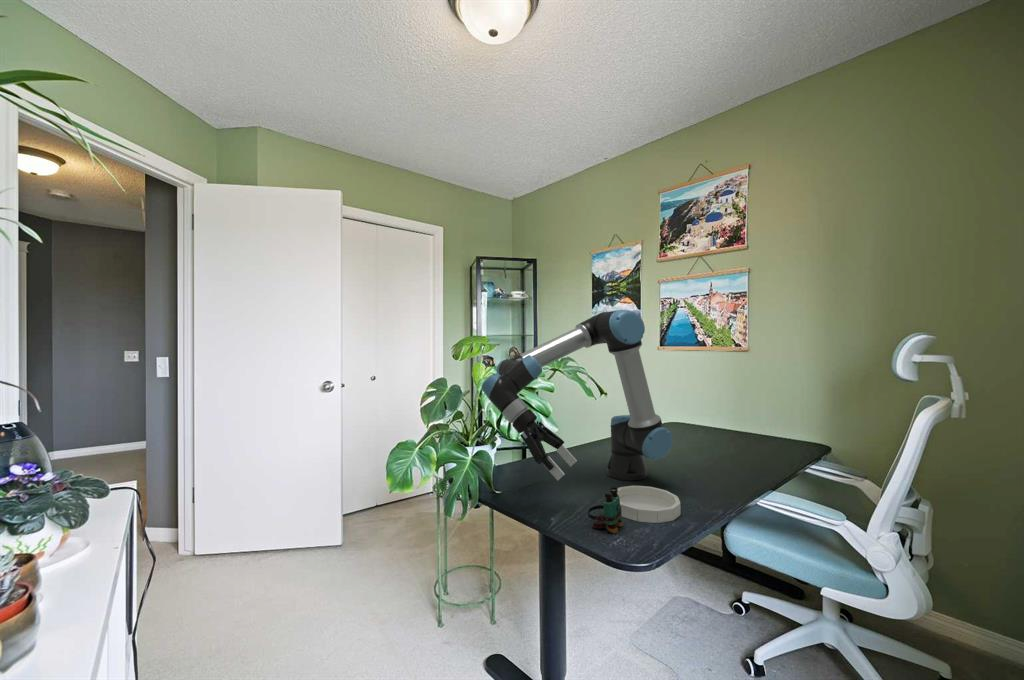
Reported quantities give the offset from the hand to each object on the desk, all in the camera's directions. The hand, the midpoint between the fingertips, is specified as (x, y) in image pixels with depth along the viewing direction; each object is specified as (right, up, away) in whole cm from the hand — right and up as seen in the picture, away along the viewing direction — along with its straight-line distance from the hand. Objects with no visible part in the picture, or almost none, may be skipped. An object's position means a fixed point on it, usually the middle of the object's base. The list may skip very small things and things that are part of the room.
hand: (567, 470), depth 124 cm
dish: (+25, -14, +8) cm, 30 cm away
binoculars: (+10, -15, -4) cm, 18 cm away
